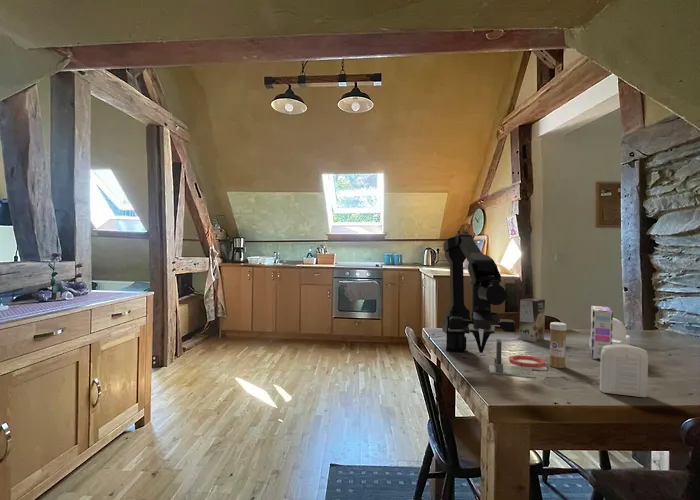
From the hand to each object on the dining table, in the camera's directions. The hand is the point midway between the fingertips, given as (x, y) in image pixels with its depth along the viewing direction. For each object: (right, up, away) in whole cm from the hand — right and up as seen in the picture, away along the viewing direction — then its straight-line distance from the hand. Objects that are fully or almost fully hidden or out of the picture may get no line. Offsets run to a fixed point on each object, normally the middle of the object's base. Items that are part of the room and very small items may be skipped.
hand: (481, 352), depth 122 cm
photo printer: (+30, -6, -19) cm, 36 cm away
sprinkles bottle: (+25, -6, +4) cm, 26 cm away
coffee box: (+34, -5, +42) cm, 54 cm away
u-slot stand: (+60, -6, +33) cm, 68 cm away
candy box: (+47, -6, +17) cm, 50 cm away
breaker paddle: (+5, -4, -1) cm, 6 cm away
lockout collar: (+16, -5, +6) cm, 18 cm away
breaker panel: (+8, -5, -2) cm, 10 cm away
